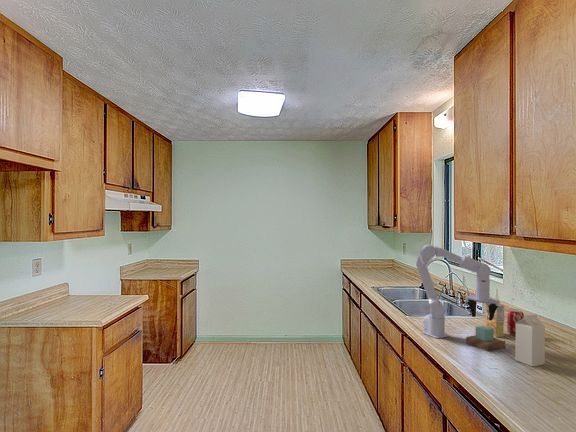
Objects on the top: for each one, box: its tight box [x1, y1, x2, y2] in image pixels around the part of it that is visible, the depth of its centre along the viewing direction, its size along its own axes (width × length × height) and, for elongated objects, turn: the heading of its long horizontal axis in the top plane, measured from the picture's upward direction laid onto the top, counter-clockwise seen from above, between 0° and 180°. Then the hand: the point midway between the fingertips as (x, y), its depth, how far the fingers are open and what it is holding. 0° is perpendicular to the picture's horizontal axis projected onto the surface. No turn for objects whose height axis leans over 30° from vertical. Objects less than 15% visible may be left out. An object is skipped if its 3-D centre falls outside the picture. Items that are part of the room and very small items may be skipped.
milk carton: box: [514, 313, 546, 367], centre depth 149 cm, size 7×7×19 cm
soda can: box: [506, 308, 524, 337], centre depth 185 cm, size 7×7×12 cm
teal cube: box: [475, 325, 494, 341], centre depth 168 cm, size 5×5×5 cm
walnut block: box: [465, 334, 506, 353], centre depth 168 cm, size 11×11×4 cm
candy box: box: [484, 303, 505, 338], centre depth 185 cm, size 9×4×15 cm, turn 6°
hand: (482, 318), depth 175 cm, fingers open, 7 cm apart
